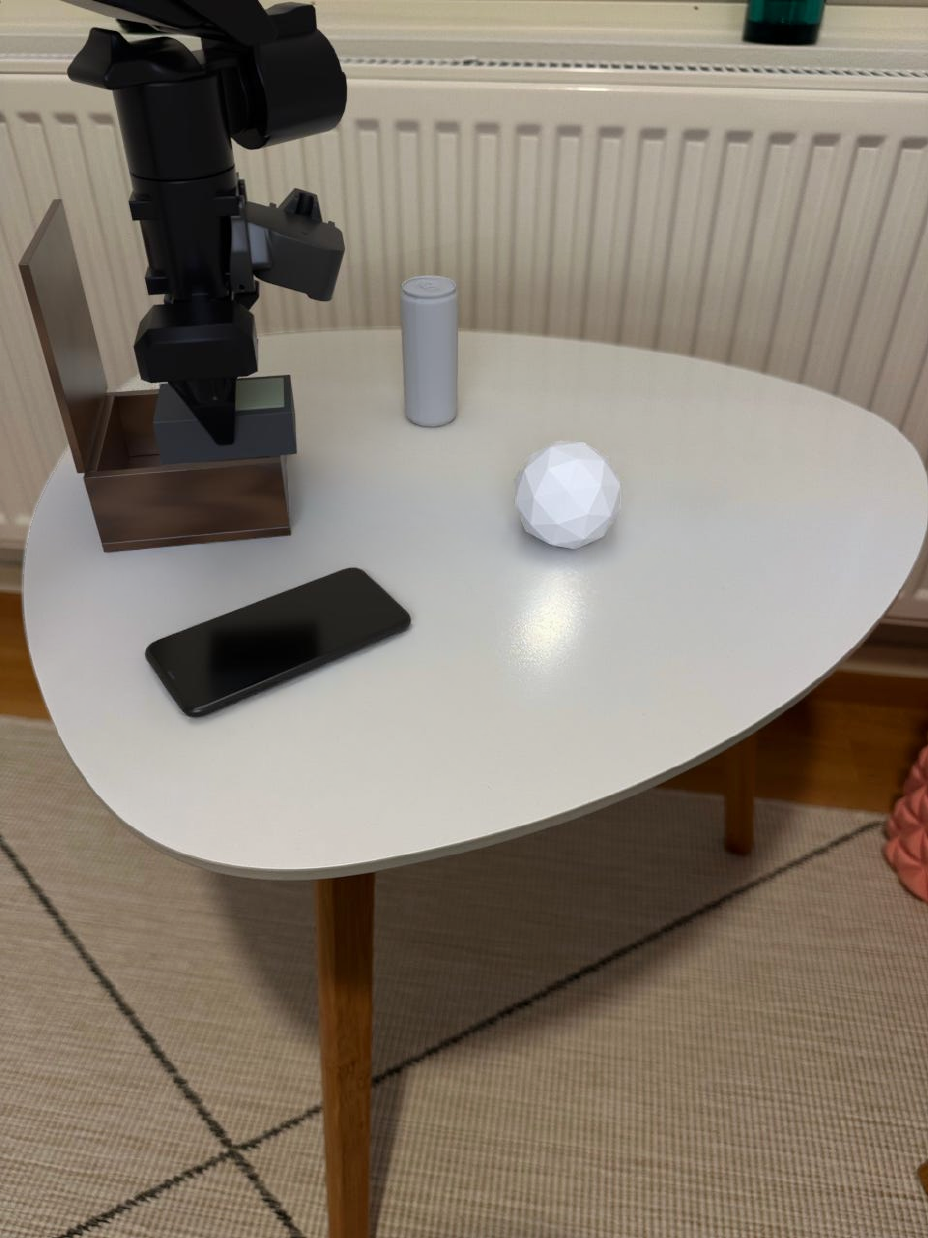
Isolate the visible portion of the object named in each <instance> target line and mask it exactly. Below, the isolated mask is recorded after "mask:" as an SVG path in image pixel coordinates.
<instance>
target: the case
mask: <svg viewBox="0 0 928 1238" xmlns="http://www.w3.org/2000/svg"><path fill="white" fill-rule="evenodd" d="M158 393H159V388H151V389H149V388H148V389H138V390H137V389H136V390H124V391H123V390H122V391H121V390H120V391H109V392H108V391H107V393H106V397H105V401H104V405H103V409H102V413H101V416H100V420H99V424H98V428H97V432H96V436H95V440H94V443H93V447H92V451H91V455H90V459H89V463H88V467H87V470H86V473H83V477H82V479H83V483H84V486H85V490H86V493H87V497H88V501H89V504H90V508H91V511H92V515H93V519H94V522H95V525H96V530H97V532H98V536H99V541H100V543H101V547H102V551H103V553H113V552H123V551H125V552H126V551H134V550H145V549H157V548H166V547H167V548H168V547H179V546H188V545H189V546H190V545H199V544H211V543H221V542H233V541H241V540H243V541H244V540H255V539H265V538H274V537H286V536H287V537H288V536H291V533H292V532H291V515H290V498H289V483H288V482H289V478H288V461H287V455H278V456H265V457H253V458H240V459H228V460H215V461H203V462H190V463H178V464H165V465H162V462H161V458H160V453H159V449H158V445H157V440H156V436H155V431H154V427H153V418H154V413H155V408H156V403H157V398H158Z"/></svg>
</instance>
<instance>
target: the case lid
mask: <svg viewBox="0 0 928 1238" xmlns="http://www.w3.org/2000/svg"><path fill="white" fill-rule="evenodd" d="M70 231H71V230H70V227H69V222H68V219H67V214H66V210H65V207H64V202H63V199H62V198H55V199H54V198H53V200H52V201H51V203H50V205H49V206H48V209H47V211H46V212H45V214H44V216H43V218H42V220H41V222H40V223H39V224H38V227H37V229H36V231H35V232H34V234H33V237H32V238H31V240H30V242H29V244H28V246H27V247H26V249H25V251H24V253H23V255H22V256H21V258H20V260H19V262H18V270H19V274H20V276H21V277H20V278H21V279H22V280H21V281H22V283H23V287H24V291H25V294H26V298H27V302H28V305H29V308H30V309H29V310H30V311H31V316H32V319H33V323H34V326H35V329H36V333H37V337H38V340H39V343H40V348H41V352H42V354H43V358H44V362H45V364H46V368H47V372H48V375H49V378H50V382H51V386H52V389H53V393H54V397H55V399H56V404H57V407H58V410H59V415H60V418H61V421H62V424H63V425H62V426H63V428H64V432H65V435H66V438H67V443H68V445H69V449H70V453H71V456H72V460H73V463H74V466H75V470H76V473H77V474H78V475H79V474H85V473H86V470H87V467H88V463H89V459H90V455H91V451H92V447H93V443H94V440H95V436H96V432H97V428H98V424H99V420H100V416H101V413H102V409H103V405H104V401H105V397H106V393H107V392H108V389H109V385H108V381H107V378H106V372H105V369H104V364H103V361H102V357H101V352H100V349H99V344H98V340H97V337H96V333H95V329H94V325H93V321H92V316H91V312H90V309H89V304H88V301H87V296H86V291H85V287H84V285H83V284H84V283H83V280H82V275H81V272H80V268H79V263H78V259H77V254H76V252H75V246H74V243H73V239H72V235H71V232H70Z"/></svg>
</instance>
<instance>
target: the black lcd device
mask: <svg viewBox="0 0 928 1238" xmlns="http://www.w3.org/2000/svg"><path fill="white" fill-rule="evenodd" d="M291 377H292V376H291V374H278V375H277V374H276V375H265V376H264V375H263V376H248V377H238V378H237V379H236V406H235V433H234V443H233V444H231V445H217V444H216V443H215V442H214V441H213V440H212V438H211V437H210V436H209V434H208V433H207V432H206V430H205V429H204V428H203V426H202V425H201V424H200V423H199V421H198V420H197V419H196V417H195V416H194V415H193V413H192V412H191V411H190V409H189V408H188V407H187V406H186V404H185V403H184V402H183V401H182V399H181V398H180V397H179V396H178V394H177V393H176V392H175V391H174V390H173V389H172V387H171V386H170V385H169V384H168V383H167V382H163V383H159V388H158V389H159V393H158V398H157V403H156V408H155V413H154V418H153V427H154V431H155V436H156V440H157V445H158V449H159V453H160V458H161V462H162V465H165V464H178V463H190V462H203V461H215V460H228V459H240V458H253V457H265V456H278V455H286V456H289V455H297V454H298V445H297V444H298V443H297V424H296V423H297V421H296V410H295V409H296V408H295V401H294V392H293V386H292V385H293V384H292V378H291Z"/></svg>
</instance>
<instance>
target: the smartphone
mask: <svg viewBox="0 0 928 1238" xmlns="http://www.w3.org/2000/svg"><path fill="white" fill-rule="evenodd" d="M411 624H412V617H411V614H410V613H409V611H407V609H405V608H404V607H403V606H402V605H401V604H400V603H399V602H398V601H397V600H396V599H395V598H393V596H392V595H390V594H389V592H388V591H386V589H384V588H383V587H382V585H380V584H378V582H376V580H375V579H374V578H372V576H370V575H369V574H368V573H367V572H366V571H365V570H364V569H361V568H359V567H355V566H353V567H352V566H351V567H346V568H342V569H340V570H337V571H334V572H332V573H329V574H327V575H324V576H322V577H319V578H316V579H313V580H310V581H309V582H306V583H303V584H300V585H297V586H295V587H293V588H289V589H288V590H285V591H282V592H279V593H277V594H274V595H271V596H269V597H267V598H264V599H262V600H258V601H256V602H254V603H250V604H247V605H246V606H243V607H240V608H237V609H236V610H232V611H230V612H227V613H225V614H222V615H218V616H216V617H214V618H211V619H208V620H206V621H203V622H201V623H197V624H195V625H193V626H190V627H188V628H185V629H182V630H180V631H177V632H174V633H172V634H168V635H166V636H164V637H161V638H159V639H156V640H154V641H152V642H151V643H149V644H148V645H147V646H146V648H145V650H144V657H145V660H146V661H147V663H148V664H149V666H150V667H151V669H152V670H153V672H154V673H155V675H156V676H157V678H158V679H159V681H160V682H161V684H162V685H163V686H164V687H165V689H166V691H167V692H168V694H169V695H170V696H171V698H172V699H173V701H174V702H175V704H176V706H178V708H179V710H181V712H182V714H184V715H186V716H187V717H190V718H195V719H197V718H198V719H199V718H203V717H207V716H209V715H211V714H214V713H216V712H219V711H221V710H223V709H226V708H227V707H230V706H232V705H235V704H237V703H239V702H242V701H244V700H246V699H248V698H251V697H253V696H256V695H258V694H260V693H262V692H265V691H267V690H269V689H272V688H274V687H276V686H279V685H281V684H284V683H286V682H288V681H290V680H293V679H295V678H298V677H300V676H303V675H304V674H307V673H309V672H311V671H314V670H316V669H319V668H321V667H323V666H326V665H329V664H331V663H333V662H335V661H338V660H339V659H342V658H344V657H347V656H349V655H351V654H354V653H356V652H358V651H361V650H363V649H365V648H368V647H370V646H372V645H375V644H377V643H380V642H382V641H384V640H386V639H389V638H392V637H393V636H395V635H398V634H400V633H403V632H404V631H406V630H407V629H408V628H409V627H410V626H411Z"/></svg>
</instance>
